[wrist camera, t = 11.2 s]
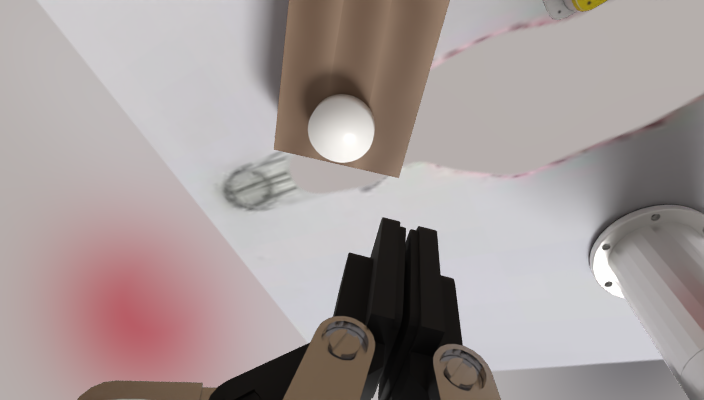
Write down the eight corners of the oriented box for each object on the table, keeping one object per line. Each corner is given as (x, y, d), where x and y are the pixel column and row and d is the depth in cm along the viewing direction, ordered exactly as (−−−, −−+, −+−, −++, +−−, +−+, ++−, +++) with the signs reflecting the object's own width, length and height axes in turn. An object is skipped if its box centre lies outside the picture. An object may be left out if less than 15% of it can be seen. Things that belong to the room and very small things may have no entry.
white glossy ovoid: (385, 83, 40) (380, 108, 33) (372, 136, 43) (366, 168, 36) (328, 70, 40) (312, 92, 33) (319, 124, 43) (303, 154, 36)
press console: (478, -131, 31) (492, -149, 26) (399, 152, 44) (398, 177, 38) (324, -166, 31) (308, -191, 26) (289, 126, 44) (273, 149, 39)
